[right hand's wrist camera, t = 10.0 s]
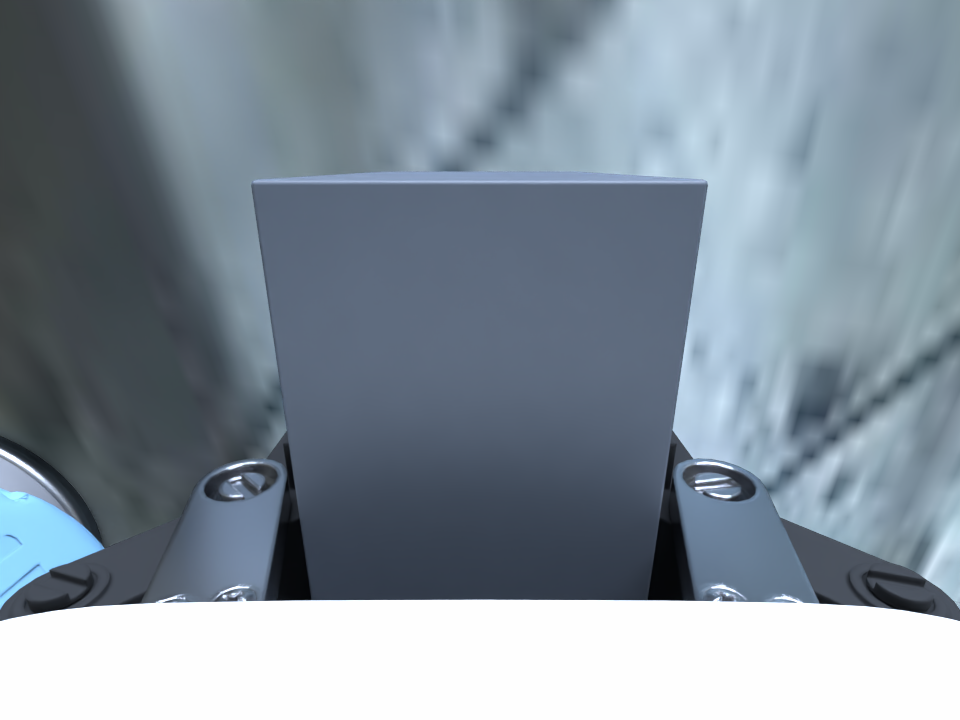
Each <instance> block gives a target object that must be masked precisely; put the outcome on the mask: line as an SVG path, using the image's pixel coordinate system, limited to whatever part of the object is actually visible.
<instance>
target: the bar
mask: <svg viewBox="0 0 960 720" xmlns="http://www.w3.org/2000/svg"><path fill="white" fill-rule="evenodd" d="M251 186H252V193H253V200H254V207H255V214H256V221H257V228H258V235H259V242H260V248H261V255H262V262H263V269H264V276H265V283H266V290H267V297H268V304H269V310H270V317H271V324H272V331H273V338H274V345H275V352H276V359H277V366H278V372H279V379H280V386H281V393H282V400H283V407H284V414H285V421H286V427H287V434H288V441H289V448H290V455H291V462H292V469H293V476H294V483H295V489H296V496H297V503H298V510H299V517H300V524H301V531H302V538H303V545H304V551H305V558H306V565H307V572H308V579H309V586H310V593H311V600H312V601H346V600H614V601H648V594H649V588H650V581H651V574H652V567H653V560H654V553H655V546H656V539H657V532H658V525H659V518H660V511H661V505H662V498H663V491H664V484H665V477H666V470H667V463H668V456H669V449H670V442H671V435H672V429H673V422H674V415H675V408H676V401H677V394H678V387H679V380H680V373H681V366H682V359H683V352H684V346H685V339H686V332H687V325H688V318H689V311H690V304H691V297H692V290H693V283H694V276H695V269H696V263H697V256H698V249H699V242H700V235H701V228H702V221H703V214H704V207H705V200H706V193H707V187H708V184H707V181H705V180H699V179H683V178H667V177H651V176H635V175H619V174H603V173H587V172H372V173H356V174H340V175H324V176H308V177H292V178H276V179H259V180H254V181H252V184H251Z"/></svg>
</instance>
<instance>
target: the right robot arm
mask: <svg viewBox="0 0 960 720" xmlns="http://www.w3.org/2000/svg"><path fill="white" fill-rule="evenodd" d="M0 720H960V609H959V608H958V606H957V605H956V604H955V602H954V601H953V600H952V599H951V598H950V597H949V596H947V595H946V594H945V593H944V592H943V591H942V590H941V589H940V588H938V587H936V586H935V585H933V584H932V583H930V582H929V581H927V580H926V579H924V578H923V577H922V576H920V575H919V574H917V573H915V572H914V571H912V570H910V569H907V568H905V567H902V566H900V565H896V564H892V563H889V562H887V561H884V560H882V559H880V558H877V557H875V556H872V555H870V554H867V553H865V552H862V551H860V550H858V549H855V548H853V547H850V546H848V545H845V544H843V543H841V542H838V541H836V540H833V539H831V538H828V537H826V536H824V535H821V534H819V533H816V532H814V531H811V530H809V529H807V528H804V527H802V526H799V525H797V524H794V523H792V522H789V521H787V520H785V519H782V518H780V517H779V515H778V513H777V511H776V508H775V506H774V504H773V502H772V500H771V498H770V496H769V493H768V491H767V489H766V487H765V486H764V484H763V483H762V482H761V480H760V479H759V478H757V477H756V476H755V475H753V474H752V473H751V472H749V471H747V470H745V469H743V468H741V467H739V466H736V465H733V464H730V463H727V462H724V461H718V460H713V459H693V458H692V457H691V455H690V454H689V453H688V451H687V450H686V448H685V447H684V446H683V444H682V443H681V442H680V440H679V439H678V437H677V436H676V435H675V433H674V432H673V431H672V435H671V442H670V449H669V456H668V463H667V470H666V477H665V484H664V491H663V498H662V505H661V511H660V518H659V525H658V532H657V539H656V546H655V553H654V560H653V567H652V574H651V581H650V588H649V594H648V601H614V600H346V601H312V600H311V593H310V586H309V579H308V572H307V565H306V558H305V551H304V545H303V538H302V531H301V524H300V517H299V510H298V503H297V496H296V489H295V483H294V476H293V469H292V462H291V455H290V448H289V441H288V434H287V432H286V433H285V434H284V436H283V437H282V438H281V440H280V441H279V443H278V444H277V445H276V447H275V448H274V449H273V451H272V452H271V454H270V455H269V456H268V458H267V459H247V460H242V461H236V462H233V463H230V464H227V465H224V466H221V467H219V468H217V469H215V470H213V471H211V472H209V473H208V474H207V475H205V476H204V477H203V478H201V479H200V480H199V482H198V483H197V484H196V486H195V487H194V489H193V491H192V493H191V496H190V498H189V500H188V502H187V504H186V506H185V508H184V511H183V513H182V515H181V517H180V518H178V519H175V520H173V521H170V522H168V523H165V524H163V525H161V526H158V527H156V528H153V529H151V530H148V531H146V532H143V533H141V534H139V535H136V536H134V537H131V538H129V539H126V540H124V541H122V542H119V543H117V544H114V545H112V546H109V547H107V548H105V549H102V550H100V551H97V552H95V553H92V554H90V555H87V556H85V557H83V558H80V559H78V560H75V561H73V562H70V563H68V564H64V565H60V566H57V567H55V568H52V569H50V570H49V572H47V573H45V574H43V575H41V576H39V577H37V578H35V579H34V580H32V581H31V582H29V583H28V584H26V585H25V586H23V587H22V588H20V589H19V590H18V591H16V592H15V593H14V594H13V595H12V596H11V597H10V598H9V599H8V600H7V601H6V602H5V603H4V604H3V606H2V607H1V609H0Z"/></svg>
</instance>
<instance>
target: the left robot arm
mask: <svg viewBox="0 0 960 720" xmlns="http://www.w3.org/2000/svg"><path fill="white" fill-rule="evenodd" d="M102 549H105V548H104V547H103V546H102V542H101V537H100V533H99V530H98V527H97V524H96V522H95V520H94V518H93V516H92V514H91V512H90V510H89V508H88V507H87V505H86V503H85V502H84V501H83V499H82V498H81V496H80V495H79V494H78V492H77V491H76V490H75V489H74V488H73V486H72V485H71V484H70V483H69V482H68V481H67V480H66V479H65V478H64V477H63V476H62V475H61V474H60V473H59V472H57V471H56V470H55V469H54V468H53V467H52V466H50V465H49V464H48V463H46V462H45V461H44V460H42V459H41V458H40V457H38V456H37V455H35V454H34V453H32V452H30V451H29V450H27V449H25V448H23V447H22V446H20V445H18V444H16V443H14V442H12V441H10V440H8V439H6V438H3V437H1V436H0V609H1V607H2V606H3V604H4V603H5V602H6V601H7V600H8V599H9V598H10V597H11V596H12V595H13V594H14V593H15V592H16V591H18V590H19V589H20V588H22V587H23V586H25V585H26V584H28V583H29V582H31V581H32V580H34V579H35V578H37V577H39V576H41V575H43V574H45V573H47V572H49V570H50V569H52V568H55V567H57V566H60V565H64V564H68V563H70V562H73V561H75V560H78V559H80V558H83V557H85V556H87V555H90V554H92V553H95V552H97V551H100V550H102Z"/></svg>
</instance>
